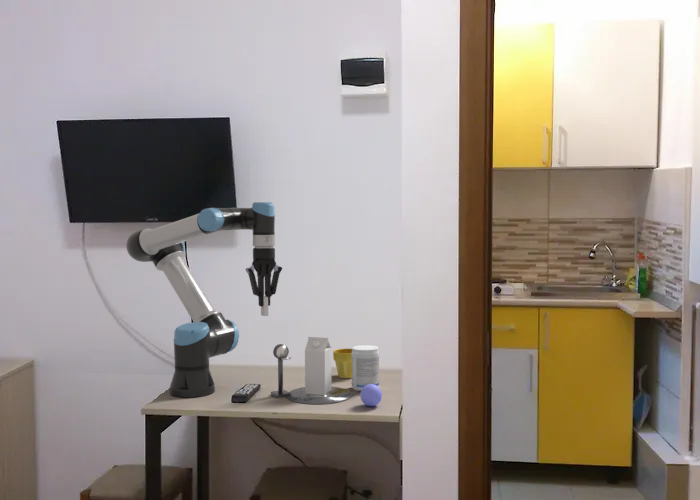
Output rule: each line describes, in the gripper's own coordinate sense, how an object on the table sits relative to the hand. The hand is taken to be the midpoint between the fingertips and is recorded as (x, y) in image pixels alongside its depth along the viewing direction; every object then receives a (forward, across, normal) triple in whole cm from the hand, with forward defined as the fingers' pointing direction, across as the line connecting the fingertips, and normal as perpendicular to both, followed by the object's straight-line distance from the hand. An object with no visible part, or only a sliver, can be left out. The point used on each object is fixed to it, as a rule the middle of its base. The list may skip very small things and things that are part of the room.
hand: (264, 315), depth 249 cm
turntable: (+26, +13, -15) cm, 33 cm away
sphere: (+27, +21, -35) cm, 49 cm away
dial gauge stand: (+26, +2, -8) cm, 28 cm away
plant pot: (+27, +35, +3) cm, 44 cm away
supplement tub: (+27, +31, -16) cm, 44 cm away
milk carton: (+26, +14, -13) cm, 32 cm away
